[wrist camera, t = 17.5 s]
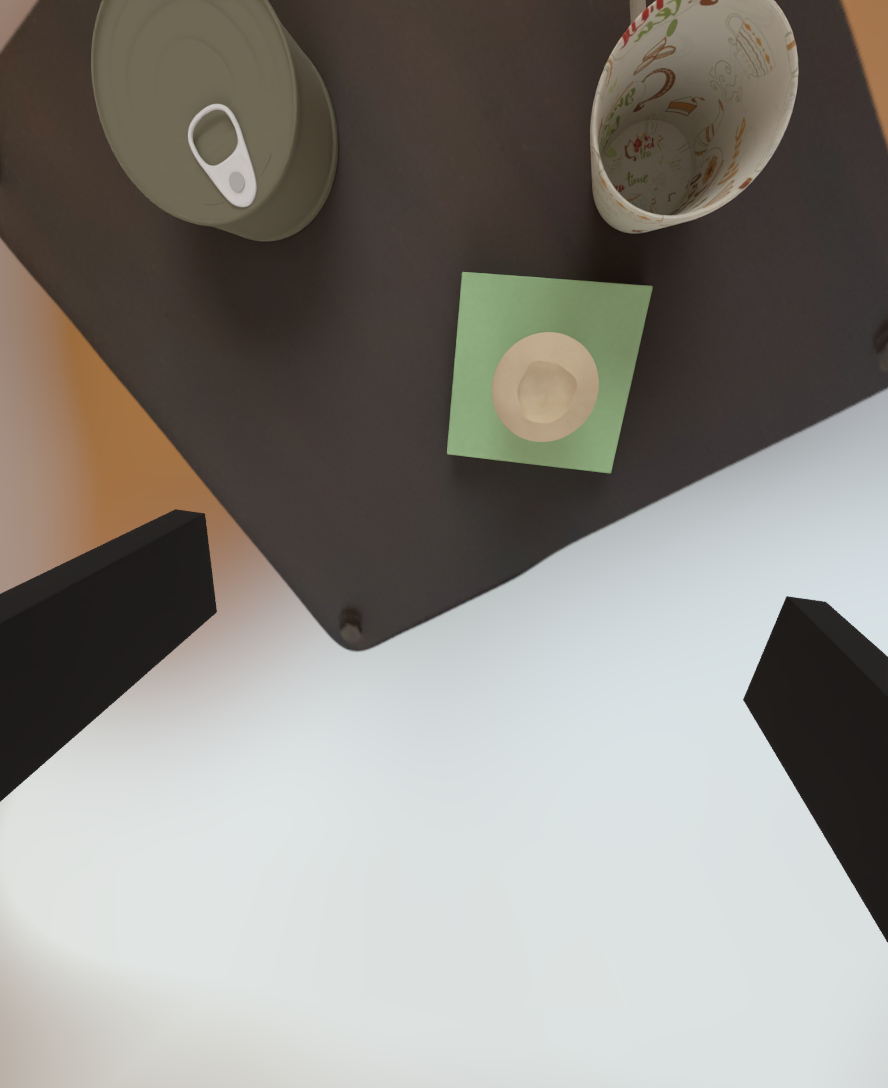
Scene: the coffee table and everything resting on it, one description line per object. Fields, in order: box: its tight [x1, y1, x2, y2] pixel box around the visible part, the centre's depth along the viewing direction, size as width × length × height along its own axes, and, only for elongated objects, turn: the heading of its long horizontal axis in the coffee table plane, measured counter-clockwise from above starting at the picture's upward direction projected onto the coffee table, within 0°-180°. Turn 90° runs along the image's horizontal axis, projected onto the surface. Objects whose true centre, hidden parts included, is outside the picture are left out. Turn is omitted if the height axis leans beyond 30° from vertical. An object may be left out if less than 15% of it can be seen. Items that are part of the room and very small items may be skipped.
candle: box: [492, 332, 599, 442], centre depth 29 cm, size 6×6×10 cm
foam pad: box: [447, 272, 653, 473], centre depth 34 cm, size 12×12×2 cm
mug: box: [590, 0, 798, 234], centre depth 25 cm, size 8×13×10 cm, turn 19°
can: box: [91, 0, 338, 242], centre depth 30 cm, size 12×12×7 cm
